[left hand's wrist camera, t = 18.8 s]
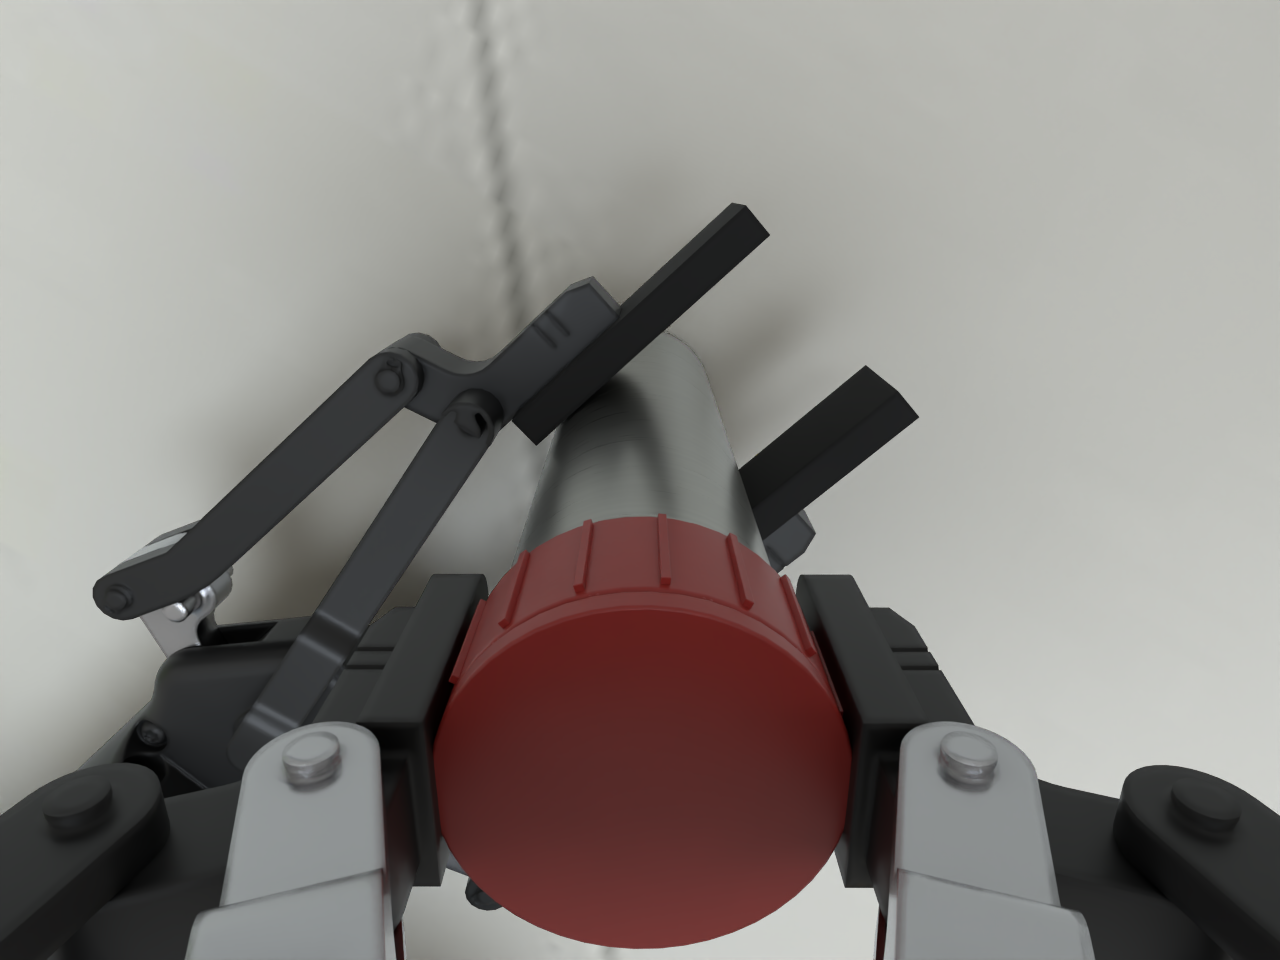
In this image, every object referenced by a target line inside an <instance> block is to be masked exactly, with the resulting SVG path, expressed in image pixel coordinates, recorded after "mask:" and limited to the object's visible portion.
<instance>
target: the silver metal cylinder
mask: <svg viewBox="0 0 1280 960" xmlns="http://www.w3.org/2000/svg"><path fill="white" fill-rule="evenodd" d="M658 513H660V514H666V515H667V518H669V519H676V520H680V521H685V522H689V523H694V524H698V525H701V526H703V527H706V528H709V529H712V530H715V531H717V532H720V533H722V534H724V535H726V536H728V534H729V533H732V534H734V535H736V536H737V539H738V542H740V543H741V544H743V545H744V546H745V547H747V548H748V549H750V550H751V551H753V552H754V553H756V554H757V555H759V556H760V557H761V558H762V559H763V560H764V561H765V562H766V563H767V564H769V565H770V563H769V560H768V557H767V554H766V551H765V548H764V545H763V542H762V539H761V536H760V533H759V530H758V527H757V524H756V521H755V518H754V515H753V512H752V509H751V506H750V503H749V500H748V497H747V494H746V491H745V488H744V485H743V482H742V479H741V476H740V473H739V470H738V467H737V464H736V461H735V458H734V455H733V452H732V449H731V446H730V443H729V440H728V437H727V434H726V431H725V428H724V425H723V422H722V419H721V416H720V413H719V410H718V407H717V404H716V401H715V398H714V395H713V392H712V389H711V386H710V383H709V380H708V377H707V374H706V372H705V369H704V367H703V365H702V363H701V362H700V360H699V358H698V357H697V356H696V355H695V353H694V352H693V351H692V350H691V349H690V348H689V347H688V346H687V345H686V344H685V343H683V342H682V341H680V340H679V339H677V338H676V337H674V336H672V335H670V334H667V333H665V332H662V333H661V334H660V335H659V336H658V337H656V338H655V339H654V340H653V341H652V342H651V343H650V344H649V345H648V346H646V347H645V348H644V349H643V350H642V351H641V352H640V353H639V354H638V355H636V356H635V357H634V358H633V359H632V360H631V361H630V362H629V363H628V364H627V365H625V366H624V367H623V368H622V369H621V370H620V371H619V372H618V373H617V374H615V375H614V376H613V377H612V378H611V379H610V380H609V381H608V382H607V383H605V384H604V385H603V386H602V387H601V388H600V389H599V390H598V391H597V392H595V393H594V394H593V395H592V396H591V397H590V398H589V399H588V400H587V401H585V402H584V403H583V404H582V405H581V406H580V407H579V408H578V409H577V410H575V411H574V412H573V413H572V414H571V415H570V416H569V417H568V418H567V419H565V420H564V421H563V422H562V423H561V424H560V425H559V426H558V427H557V428H556V431H555V434H554V437H553V440H552V443H551V446H550V449H549V453H548V456H547V459H546V462H545V465H544V468H543V471H542V474H541V477H540V480H539V484H538V487H537V490H536V493H535V496H534V499H533V502H532V505H531V508H530V511H529V515H528V518H527V521H526V524H525V527H524V530H523V533H522V536H521V539H520V542H519V546H518V549H517V552H516V555H515V558H514V561H513V564H512V567H513V566H514V565H515V564H516V563H517V561H518V558H519V555H520V553H521V552H523V551H524V550H527V551H528V552H529V553H530V552H531V551H532V550H534V549H535V548H536V547H538V546H540V545H541V544H543V543H545V542H547V541H548V540H550V539H552V538H554V537H555V536H557V535H560V534H562V533H565V532H567V531H569V530H572V529H574V528H577V527H580V526H583V521H585V520H589V519H592V522H593V523H594V522H598V521H602V520H609V519H616V518H623V517H658ZM512 567H511V568H512Z"/></svg>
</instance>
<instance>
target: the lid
mask: <svg viewBox="0 0 1280 960" xmlns="http://www.w3.org/2000/svg"><path fill="white" fill-rule="evenodd" d="M449 682H451V683H453V684H454V687H453V689H452V692H451V695H450V698H449V700H448V703H447V706H446V708H445V711H444V714H443V717H442V719H441V722H440V725H439V728H438V731H437V733H436V736H435V739H434V744H433V759H434V769H435V778H436V788H437V797H438V806H439V815H440V825H441V832H442V835H443V837H444V839H445V841H446V844H447V846H448V848H449V850H450V851H451V853H452V854H453V856H454V857H455V859H456V860H457V862H458V863H459V865H460V866H461V868H462V869H463V870H464V871H465V872H466V874H467V875H468V876H469V877H470V878H471V879H472V880H473V881H474V883H475V884H476V885H477V886H478V887H479V888H480V889H482V890H483V891H484V892H485V893H486V894H487V895H488V896H490V897H491V898H492V899H493V900H494V901H495V902H497V903H498V904H500V905H501V906H503V907H504V908H506V909H507V910H509V911H510V912H511V913H513V914H514V915H516V916H518V917H520V918H522V919H524V920H526V921H527V922H529V923H531V924H533V925H535V926H537V927H539V928H542V929H544V930H547V931H549V932H552V933H555V934H557V935H560V936H563V937H566V938H570V939H574V940H577V941H581V942H584V943H590V944H596V945H601V946H607V947H617V948H630V949H653V948H667V947H676V946H684V945H689V944H694V943H698V942H703V941H708V940H711V939H714V938H717V937H721V936H724V935H727V934H730V933H733V932H735V931H737V930H740V929H742V928H744V927H746V926H749V925H751V924H753V923H755V922H757V921H759V920H761V919H762V918H764V917H766V916H767V915H769V914H771V913H773V912H774V911H776V910H777V909H779V908H780V907H782V906H783V905H784V904H786V903H787V902H788V901H790V900H791V899H792V898H794V897H795V896H796V895H797V894H798V893H799V892H800V891H801V890H802V889H803V888H804V887H806V886H807V885H808V884H809V883H810V882H811V881H812V880H813V879H814V877H815V876H816V875H817V874H818V872H819V871H820V870H821V869H822V867H823V866H824V865H825V864H826V862H827V861H828V859H829V858H830V856H831V854H832V853H833V851H834V849H835V848H836V846H837V844H838V843H839V840H840V838H841V835H842V833H843V831H844V825H845V817H846V808H847V799H848V790H849V781H850V772H851V761H852V748H851V744H850V740H849V736H848V732H847V729H846V726H845V723H844V721H843V718H842V717H843V709H842V707H841V704H840V701H839V699H838V696H837V693H836V691H835V688H834V685H833V683H832V680H831V677H830V675H829V672H828V670H827V667H826V664H825V662H824V659H823V656H822V654H821V651H820V648H819V646H818V643H817V640H816V638H815V635H814V632H813V631H810V629H809V626H808V624H807V621H806V619H805V616H804V614H803V612H802V609H801V607H800V605H799V603H798V600H797V598H796V595H795V592H794V589H793V587H792V584H791V581H790V579H789V578H788V577H787V575H783V576H782V577H780V576H779V575H778V573H777V572H776V571H775V570H774V569H773V568H772V567H771V566H770V565H769V564H767V563H766V562H765V561H764V560H763V559H762V558H761V557H760V556H759V555H757V554H756V553H754V552H753V551H751V550H750V549H748V548H747V547H745V546H744V545H743V544H741V543H740V542H738V539H737V536H736V535H734V534H732V533H729V534H728V536H726V535H724V534H722V533H720V532H717V531H715V530H712V529H709V528H706V527H703V526H701V525H698V524H694V523H689V522H685V521H680V520H676V519H669V518H667V515H666V514H660V513H658V517H623V518H616V519H609V520H602V521H598V522H594V523H593V522H592V519H589V520H585V521H583V526H580V527H577V528H574V529H572V530H569V531H567V532H565V533H562V534H560V535H557V536H555V537H554V538H552V539H550V540H548V541H547V542H545V543H543V544H541V545H540V546H538V547H536V548H535V549H534V550H532V551H531V552H530V553H529V552H528V551H527V550H524V551H523V552H521V553H520V555H519V558H518V561H517V563H516V564H515V565H514V566H513V567H512V568H511V569H510V570H509V571H508V572H507V573H506V574H505V575H504V576H503V577H502V579H501V580H500V581H499V583H498V584H497V585H496V587H495V588H494V589H493V591H492V592H491V594H490V595H489V597H488V599H487V601H485V600H482V599H480V601H479V603H478V605H477V607H476V610H475V613H474V615H473V618H472V621H471V623H470V626H469V629H468V631H467V634H466V637H465V639H464V642H463V644H462V647H461V650H460V652H459V655H458V658H457V660H456V663H455V666H454V668H453V671H452V674H451V676H450V679H449Z"/></svg>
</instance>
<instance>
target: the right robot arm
mask: <svg viewBox="0 0 1280 960" xmlns="http://www.w3.org/2000/svg"><path fill="white" fill-rule="evenodd" d="M769 236H770V234H769V233H768V232H767V231H766V229H765V228H764V227H763V226H762V225H761V223H760V222H759V221H758V220H757V218H756V217H755V216H754V215H753V214H752V212H751V211H750V210H749V209H748V207H747V206H746V205H741V204H736V203H731V204H730V205H729V206H728V207H727V208H726V209H725V210H724V211H722V212H721V213H720V214H719V215H718V216H717V217H716V218H715V219H714V220H713V221H712V222H711V223H709V224H708V225H707V226H706V227H705V228H704V229H703V230H702V231H701V232H700V233H699V234H698V235H697V236H695V237H694V238H693V239H692V240H691V241H690V242H689V243H688V244H687V245H686V246H685V247H684V248H682V249H681V250H680V251H679V252H678V253H677V254H676V255H675V256H674V257H673V258H672V259H671V260H670V261H668V262H667V263H666V264H665V265H664V266H663V267H662V268H661V269H660V270H659V271H658V272H657V273H655V274H654V275H653V276H652V277H651V278H650V279H649V280H648V281H647V282H646V283H645V284H644V285H642V286H641V287H640V288H639V289H638V290H637V291H636V292H635V293H634V294H633V295H632V296H631V297H630V298H628V299H627V300H626V301H625V302H624V303H623V304H622V305H621V306H620V305H619V304H618V303H617V302H616V301H615V300H614V299H613V298H612V297H611V296H610V294H609V293H608V292H607V291H606V290H605V289H604V288H603V287H602V286H601V284H600V283H599V282H598V281H597V280H596V279H595V278H594V277H593V276H592V277H589V278H587V279H584V280H582V281H579V282H576V283H574V284H571V285H570V286H569V287H568V288H567V289H566V290H565V291H564V292H563V293H562V294H560V295H559V296H558V297H557V298H556V299H555V300H554V301H553V302H552V303H551V304H550V305H549V306H548V307H547V308H546V309H545V310H544V311H543V312H542V313H541V314H540V315H538V316H537V317H536V318H535V319H534V320H533V321H532V322H531V323H530V324H529V325H528V326H527V327H526V328H525V329H524V330H523V331H522V332H521V333H519V334H518V335H517V336H516V337H515V338H514V339H513V340H512V341H511V342H510V343H509V344H508V345H507V346H506V347H505V348H504V349H503V350H502V351H501V352H499V353H498V354H497V355H495V356H494V357H493V358H490V359H488V360H485V361H478V362H476V361H468V360H465V359H463V358H460V357H458V356H456V355H454V354H452V353H450V352H448V351H446V350H444V349H442V348H441V347H440V345H439V344H438V342H437V341H436V340H434V339H433V338H432V337H430V336H429V335H426V334H422V333H412V334H408V335H407V336H405V337H403V338H402V339H400V340H398V341H397V342H395V343H393V344H392V345H390V346H389V347H387V348H385V349H384V350H382V351H381V352H379V353H378V354H376V355H375V356H373V357H372V358H370V359H369V360H368V361H367V362H366V363H365V364H364V365H362V366H361V367H360V368H359V369H358V370H357V371H356V372H355V373H354V374H353V375H352V376H351V377H350V378H349V379H348V380H347V381H346V382H345V383H344V384H343V385H342V386H340V387H339V388H338V389H337V390H336V391H335V392H334V393H333V394H332V395H331V396H330V397H329V398H328V399H327V400H326V401H325V402H324V403H323V404H322V405H321V406H320V407H318V408H317V409H316V410H315V411H314V412H313V413H312V414H311V415H310V416H309V417H308V418H307V419H306V420H305V421H304V422H303V423H302V424H301V425H300V426H299V427H297V428H296V429H295V430H294V431H293V432H292V433H291V434H290V435H289V436H288V437H287V438H286V439H285V440H284V441H283V442H282V443H281V444H280V445H279V446H278V447H277V448H275V449H274V450H273V451H272V452H271V453H270V454H269V455H268V456H267V457H266V458H265V459H264V460H263V461H262V462H261V463H260V464H259V465H258V466H257V467H256V468H255V469H253V470H252V471H251V472H250V473H249V474H248V475H247V476H246V477H245V478H244V479H243V480H242V481H241V482H240V483H239V484H238V485H237V486H236V487H235V488H234V489H232V490H231V491H230V492H229V493H228V494H227V495H226V496H225V497H224V498H223V499H222V500H221V501H220V502H219V503H218V504H217V505H216V506H215V507H214V508H213V509H212V510H210V511H209V512H208V513H207V514H206V515H205V516H204V517H203V518H202V519H201V520H199V521H196V522H193V523H191V524H188V525H186V526H183V527H180V528H178V529H175V530H172V531H170V532H167V533H165V534H162V535H160V536H159V537H157V538H156V539H154V540H153V541H151V542H150V543H149V544H147V545H146V546H145V547H143V548H142V549H140V550H139V551H137V552H136V553H134V554H133V555H132V556H130V557H129V558H127V559H126V560H125V561H123V562H122V563H121V564H119V565H118V566H117V567H116V568H114V569H113V570H111V571H110V572H109V573H107V574H106V575H104V576H103V577H102V578H100V579H99V580H97V582H96V583H95V585H94V587H93V599H94V601H95V603H96V605H97V607H98V608H99V609H100V610H101V611H102V612H103V613H104V614H106V615H108V616H110V617H112V618H114V619H119V620H129V619H134V618H137V617H139V616H140V618H141V619H142V621H143V622H144V624H145V625H146V627H147V628H148V630H149V631H150V633H151V634H152V636H153V637H154V639H155V640H156V642H157V643H158V645H159V646H160V648H161V649H162V651H163V652H164V654H165V655H166V657H167V659H166V660H165V662H164V663H163V664H162V666H161V667H160V669H159V671H158V673H157V676H156V680H155V687H154V693H153V696H152V699H151V701H150V702H149V703H148V704H147V705H145V706H144V707H143V708H142V709H141V710H140V711H139V712H138V713H137V714H136V715H135V716H134V717H133V718H132V719H131V720H130V721H129V722H127V723H126V724H125V725H124V726H123V727H122V728H121V729H120V730H119V731H118V732H117V733H116V734H115V735H114V736H113V737H112V738H111V739H109V740H108V741H107V742H106V743H105V744H104V745H103V746H102V747H101V748H100V749H99V750H98V751H97V752H96V753H95V754H94V755H93V756H92V757H90V758H89V759H88V760H87V761H86V762H85V763H84V764H83V765H82V766H81V767H80V768H79V769H78V770H82V769H85V768H89V767H93V766H98V765H103V764H111V763H132V764H138V765H142V766H145V767H147V768H149V769H150V770H152V771H153V772H154V773H155V774H156V775H157V777H158V779H159V782H160V785H161V789H162V793H163V797H164V798H168V797H173V796H178V795H182V794H187V793H191V792H196V791H201V790H205V789H210V788H214V787H219V786H223V785H227V784H231V783H235V782H238V781H240V780H242V778H243V774H244V770H245V767H246V766H247V764H248V762H249V761H250V759H251V758H252V757H253V756H254V754H255V753H256V752H257V751H259V750H260V749H261V748H262V747H263V746H264V745H266V744H267V743H269V742H270V741H271V740H273V739H275V738H277V737H278V736H280V735H282V734H284V733H286V732H289V731H291V730H293V729H296V728H299V727H302V726H306V725H310V724H312V722H313V720H314V719H315V717H316V715H317V714H318V712H319V710H320V709H321V707H322V705H323V704H324V702H325V700H326V699H327V697H328V695H329V694H330V692H331V690H332V689H333V687H334V685H335V684H336V682H337V680H338V678H339V677H340V675H341V673H342V672H343V670H344V669H347V663H348V662H349V660H350V658H351V657H352V655H353V653H354V652H355V651H357V647H358V645H359V643H360V642H361V640H362V638H363V637H364V635H365V633H366V632H367V630H368V628H369V627H370V625H369V623H370V622H371V620H372V619H373V617H374V616H375V615H376V613H377V612H378V610H379V609H380V607H381V606H382V604H383V603H384V601H385V600H386V598H387V597H388V595H389V594H390V592H391V591H392V589H393V588H394V586H395V585H396V583H397V582H398V580H399V579H400V578H401V576H402V575H403V573H404V572H405V570H406V569H407V567H408V566H409V564H410V563H411V561H412V560H413V558H414V557H415V555H416V554H417V552H418V551H419V549H420V548H421V546H422V545H423V543H424V542H425V541H426V539H427V538H428V536H429V535H430V533H431V532H432V530H433V529H434V527H435V526H436V524H437V523H438V521H439V520H440V518H441V517H442V515H443V514H444V512H445V511H446V509H447V508H448V506H449V505H450V504H451V502H452V501H453V499H454V498H455V496H456V495H457V493H458V492H459V490H460V489H461V487H462V486H463V484H464V483H465V481H466V480H467V478H468V477H469V475H470V474H471V472H472V471H473V469H474V468H475V466H476V465H477V464H478V462H479V461H480V459H481V458H482V456H483V455H484V453H485V452H486V450H487V449H488V447H489V446H490V445H491V444H492V442H493V440H494V439H495V437H496V435H497V434H498V432H499V431H500V430H501V429H502V428H503V427H504V426H505V425H506V424H507V423H508V422H510V421H511V420H512V422H513V423H514V424H515V425H516V426H517V427H518V428H519V429H520V430H521V431H522V432H523V433H524V434H525V435H526V436H527V437H528V438H529V439H530V440H531V441H532V442H533V443H534V444H535V445H536V446H537V445H538V444H539V443H540V442H541V441H542V440H543V439H544V438H545V437H547V436H548V435H549V434H550V433H551V432H552V431H553V430H554V429H555V428H557V427H558V426H559V425H560V424H561V423H562V422H563V421H564V420H565V419H567V418H568V417H569V416H570V415H571V414H572V413H573V412H574V411H575V410H577V409H578V408H579V407H580V406H581V405H582V404H583V403H584V402H585V401H587V400H588V399H589V398H590V397H591V396H592V395H593V394H594V393H595V392H597V391H598V390H599V389H600V388H601V387H602V386H603V385H604V384H605V383H607V382H608V381H609V380H610V379H611V378H612V377H613V376H614V375H615V374H617V373H618V372H619V371H620V370H621V369H622V368H623V367H624V366H625V365H627V364H628V363H629V362H630V361H631V360H632V359H633V358H634V357H635V356H636V355H638V354H639V353H640V352H641V351H642V350H643V349H644V348H645V347H646V346H648V345H649V344H650V343H651V342H652V341H653V340H654V339H655V338H656V337H658V336H659V335H660V334H661V333H662V332H663V331H664V330H665V329H666V328H668V327H669V326H670V325H671V324H672V323H673V322H674V321H675V320H676V319H678V318H679V317H680V316H681V315H682V314H683V313H684V312H685V311H686V310H688V309H689V308H690V307H691V306H692V305H693V304H694V303H695V302H696V301H698V300H699V299H700V298H701V297H702V296H703V295H704V294H705V293H706V292H708V291H709V290H710V289H711V288H712V287H713V286H714V285H715V284H716V283H718V282H719V281H720V280H721V279H722V278H723V277H724V276H725V275H726V274H728V273H729V272H730V271H731V270H732V269H733V268H734V267H735V266H736V265H738V264H739V263H740V262H741V261H742V260H743V259H744V258H745V257H746V256H748V255H749V254H750V253H751V252H752V251H753V250H754V249H755V248H756V247H758V246H759V245H760V244H761V243H762V242H763V241H764V240H765V239H766V238H768V237H769ZM404 407H405V408H407V409H409V410H411V411H413V412H415V413H417V414H419V415H421V416H423V417H425V418H428V419H430V420H432V421H434V422H436V423H437V424H436V425H435V427H434V428H433V430H432V431H431V433H430V434H429V436H428V437H427V439H426V441H425V442H424V444H423V445H422V447H421V448H420V450H419V451H418V453H417V454H416V456H415V458H414V459H413V461H412V462H411V464H410V465H409V467H408V468H407V470H406V471H405V473H404V475H403V476H402V478H401V479H400V481H399V482H398V484H397V485H396V487H395V489H394V490H393V492H392V493H391V495H390V496H389V498H388V499H387V501H386V502H385V504H384V506H383V507H382V509H381V510H380V512H379V513H378V515H377V516H376V518H375V519H374V521H373V523H372V524H371V526H370V527H369V529H368V530H367V532H366V533H365V535H364V536H363V538H362V540H361V541H360V543H359V544H358V546H357V547H356V549H355V550H354V552H353V554H352V555H351V557H350V558H349V560H348V561H347V563H346V564H345V566H344V567H343V569H342V571H341V572H340V574H339V575H338V577H337V578H336V580H335V581H334V583H333V584H332V586H331V588H330V589H329V591H328V592H327V594H326V595H325V597H324V598H323V600H322V601H321V603H320V605H319V606H318V608H317V609H316V611H315V612H314V614H313V615H312V616H308V617H297V618H287V619H277V620H266V621H256V622H246V623H236V624H225V625H217V624H216V622H215V618H214V612H215V608H216V607H217V606H218V605H219V604H220V603H221V602H222V601H223V600H224V599H225V598H226V597H227V596H228V595H229V594H230V592H231V590H232V578H231V575H232V574H233V567H232V565H233V564H234V563H235V562H236V561H238V560H239V559H240V558H241V557H242V556H243V555H244V554H245V553H246V552H247V551H248V550H250V549H251V548H252V547H253V546H254V545H255V544H256V543H257V542H258V541H259V540H260V539H261V538H263V537H264V536H265V535H266V534H267V533H268V532H269V531H270V530H271V529H272V528H273V527H274V526H276V525H277V524H278V523H279V522H280V521H281V520H282V519H283V518H284V517H285V516H286V515H287V514H289V513H290V512H291V511H292V510H293V509H294V508H295V507H296V506H297V505H298V504H299V503H301V502H302V501H303V500H304V499H305V498H306V497H307V496H308V495H309V494H310V493H311V492H312V491H314V490H315V489H316V488H317V487H318V486H319V485H320V484H321V483H322V482H323V481H324V480H325V479H327V478H328V477H329V476H330V475H331V474H332V473H333V472H334V471H335V470H336V469H337V468H338V467H340V466H341V465H342V464H343V463H344V462H345V461H346V460H347V459H348V458H349V457H350V456H352V455H353V454H354V453H355V452H356V451H357V450H358V449H359V448H360V447H361V446H362V445H363V444H365V443H366V442H367V441H368V440H369V439H370V438H371V437H372V436H373V435H374V434H375V433H376V432H378V431H379V430H380V429H381V428H382V427H383V426H384V425H385V424H386V423H387V422H388V421H389V420H391V419H392V418H393V417H394V416H395V415H396V414H397V413H398V412H399V411H400V410H401V409H403V408H404ZM918 418H919V416H918V415H917V414H916V413H915V411H914V410H913V409H912V408H911V406H910V405H909V404H908V403H907V402H906V400H905V399H904V398H903V397H902V395H901V394H900V393H899V392H898V391H897V390H896V389H895V388H893V387H892V386H891V385H890V384H888V383H887V382H886V381H885V380H883V379H882V378H881V377H880V376H878V375H877V374H876V373H875V372H874V371H872V370H871V369H870V368H869V367H867V366H866V365H865V366H864V367H863V368H862V369H860V370H859V371H858V372H857V373H856V374H854V375H853V376H852V377H851V378H850V379H848V380H847V381H846V382H845V383H843V384H842V385H841V386H840V387H839V388H837V389H836V390H835V391H834V392H833V393H831V394H830V395H829V396H828V397H826V398H825V399H824V400H823V401H822V402H820V403H819V404H818V405H817V406H816V407H814V408H813V409H812V410H811V411H809V412H808V413H807V414H806V415H805V416H803V417H802V418H801V419H800V420H799V421H797V422H796V423H795V424H794V425H792V426H791V427H790V428H789V429H788V430H786V431H785V432H784V433H783V434H782V435H780V436H779V437H778V438H777V439H775V440H774V441H773V442H772V443H771V444H769V445H768V446H767V447H766V448H765V449H763V450H762V451H761V452H760V453H758V454H757V455H756V456H755V457H754V458H752V459H751V460H750V461H749V462H748V463H746V464H745V465H744V466H743V467H742V468H740V469H739V473H740V476H741V479H742V482H743V485H744V488H745V491H746V494H747V497H748V500H749V503H750V506H751V509H752V512H753V515H754V518H755V521H756V524H757V527H758V530H759V533H760V536H761V539H762V542H763V545H764V548H765V551H766V554H767V557H768V560H769V563H770V566H771V567H772V568H773V569H774V570H775V571H776V572H777V573H778V572H780V571H781V570H782V569H783V568H784V567H785V566H788V565H789V564H790V563H791V562H793V561H794V560H795V559H797V558H798V557H799V556H800V555H802V554H803V553H804V552H805V551H806V549H807V547H808V546H809V544H810V542H811V541H812V539H813V537H814V536H815V534H816V533H815V531H814V529H813V527H812V525H811V523H810V521H809V518H808V516H807V514H806V512H805V511H804V510H803V509H804V508H805V507H806V506H808V505H809V504H810V503H811V502H813V501H814V500H815V499H816V498H818V497H819V496H820V495H822V494H823V493H824V492H825V491H827V490H828V489H829V488H830V487H832V486H833V485H834V484H835V483H837V482H838V481H839V480H840V479H842V478H843V477H844V476H846V475H847V474H848V473H849V472H851V471H852V470H853V469H854V468H856V467H857V466H858V465H859V464H861V463H862V462H863V461H864V460H866V459H867V458H868V457H870V456H871V455H872V454H873V453H875V452H876V451H877V450H878V449H880V448H881V447H882V446H883V445H885V444H886V443H887V442H889V441H890V440H891V439H892V438H894V437H895V436H896V435H897V434H899V433H900V432H901V431H902V430H904V429H905V428H906V427H907V426H909V425H910V424H911V423H913V422H914V421H915V420H916V419H918ZM78 770H77V771H78ZM446 868H448V869H451V870H453V871H456V872H459V873H461V874H464V875H466V876H468V875H467V874H466V872H465V871H464V870H463V869H462V868H461V866H460V865H459V863H458V862H457V860H456V859H455V857H454V856H453V854H452V853H451V851H450V854H449V858H448V861H447V865H446ZM465 894H466V898H467V900H468V901H469V902H470V903H471V905H473V906H475V907H477V908H478V909H482V910H496V909H498V908H501V907H503V906H501V905H500V904H498V903H497V902H495V901H494V900H493V899H492V898H491V897H490V896H488V895H487V894H486V893H485V892H484V891H483V890H482V889H480V888H479V887H478V886H477V885H476V884H475V883H474V881H473V880H472V879H471V878H470V877H469V879H468V883H467V887H466V891H465Z"/></svg>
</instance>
